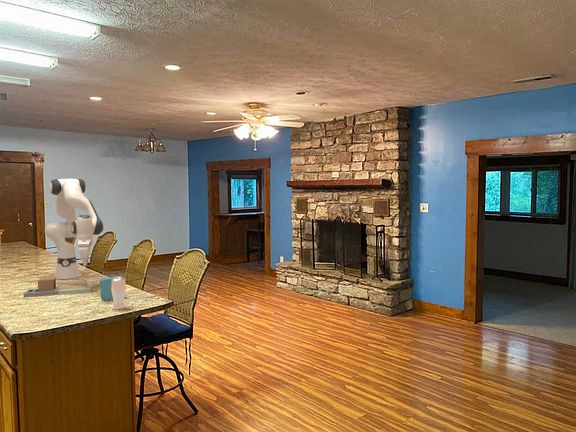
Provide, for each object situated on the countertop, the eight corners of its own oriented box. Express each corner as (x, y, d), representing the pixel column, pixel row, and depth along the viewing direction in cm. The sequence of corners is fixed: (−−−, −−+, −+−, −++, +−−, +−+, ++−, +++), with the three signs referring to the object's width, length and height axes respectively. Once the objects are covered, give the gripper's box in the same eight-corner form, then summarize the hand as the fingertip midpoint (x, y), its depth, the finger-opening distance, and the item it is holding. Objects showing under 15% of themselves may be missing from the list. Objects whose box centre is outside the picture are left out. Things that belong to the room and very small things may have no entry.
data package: (122, 296, 256) (122, 275, 255) (125, 298, 252) (124, 277, 252) (100, 299, 249) (100, 278, 248) (103, 301, 245) (102, 279, 244)
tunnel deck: (29, 292, 269) (28, 277, 268) (92, 287, 280) (91, 274, 279) (23, 297, 256) (23, 282, 256) (90, 292, 267) (89, 277, 267)
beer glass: (128, 306, 234) (127, 277, 234) (123, 309, 227) (122, 280, 227) (114, 306, 234) (113, 277, 233) (109, 309, 227) (108, 280, 226)
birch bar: (57, 288, 270) (57, 281, 269) (86, 286, 274) (86, 279, 274) (56, 289, 266) (56, 283, 265) (86, 287, 271) (85, 281, 270)
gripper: (81, 239, 280) (82, 261, 281) (77, 244, 261) (78, 267, 262) (92, 239, 282) (93, 261, 283) (89, 243, 263) (89, 267, 264)
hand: (85, 264), depth 272 cm, fingers open, 8 cm apart
